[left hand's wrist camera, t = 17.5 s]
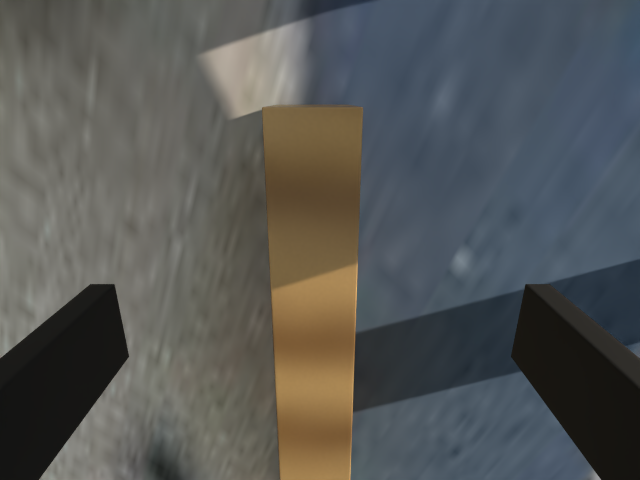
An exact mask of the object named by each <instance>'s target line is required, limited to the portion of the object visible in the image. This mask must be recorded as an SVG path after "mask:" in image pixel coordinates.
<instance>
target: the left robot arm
mask: <svg viewBox="0 0 640 480" xmlns="http://www.w3.org/2000/svg"><path fill="white" fill-rule="evenodd" d="M128 357H129V354H128V349H127V344H126V339H125V334H124V329H123V324H122V319H121V314H120V309H119V304H118V300H117V295H116V290H115V285H114V284H90V285H89V286H88V287H87V288H85V289H84V290H83V291H82V292H80V293H79V294H78V295H77V296H76V297H74V298H73V299H72V300H71V301H70V302H68V303H67V304H66V305H65V306H63V307H62V308H61V309H60V310H59V311H57V312H56V313H55V314H54V315H53V316H51V317H50V318H49V319H48V320H46V321H45V322H44V323H43V324H42V325H40V326H39V327H38V328H37V329H35V330H34V331H33V332H32V333H31V334H29V335H28V336H27V337H26V338H25V339H23V340H22V341H21V342H20V343H18V344H17V345H16V346H15V347H14V348H12V349H11V350H10V351H9V352H8V353H6V354H5V355H4V356H3V357H1V358H0V480H39V479H40V477H41V476H42V475H43V473H44V472H45V471H46V469H47V468H48V466H49V465H50V464H51V462H52V461H53V460H54V458H55V457H56V455H57V454H58V453H59V451H60V450H61V449H62V447H63V446H64V445H65V443H66V442H67V440H68V439H69V438H70V436H71V435H72V434H73V432H74V431H75V430H76V428H77V427H78V425H79V424H80V423H81V421H82V420H83V419H84V417H85V416H86V414H87V413H88V412H89V410H90V409H91V408H92V406H93V405H94V404H95V402H96V401H97V399H98V398H99V397H100V395H101V394H102V393H103V391H104V390H105V389H106V387H107V386H108V384H109V383H110V382H111V380H112V379H113V378H114V376H115V375H116V374H117V372H118V371H119V369H120V368H121V367H122V365H123V364H124V363H125V361H126V360H127V358H128ZM511 357H512V358H513V360H514V361H515V363H516V364H517V365H518V367H519V368H520V369H521V371H522V372H523V374H524V375H525V376H526V378H527V379H528V380H529V382H530V383H531V384H532V386H533V387H534V389H535V390H536V391H537V393H538V394H539V395H540V397H541V398H542V399H543V401H544V402H545V404H546V405H547V406H548V408H549V409H550V410H551V412H552V413H553V414H554V416H555V417H556V419H557V420H558V421H559V423H560V424H561V425H562V427H563V428H564V430H565V431H566V432H567V434H568V435H569V436H570V438H571V439H572V440H573V442H574V443H575V445H576V446H577V447H578V449H579V450H580V451H581V453H582V454H583V455H584V457H585V458H586V460H587V461H588V462H589V464H590V465H591V466H592V468H593V469H594V471H595V472H596V473H597V475H598V476H599V477H600V479H601V480H640V358H639V357H637V356H636V355H635V354H634V353H632V352H631V351H630V350H629V349H628V348H626V347H625V346H624V345H623V344H622V343H620V342H619V341H618V340H617V339H615V338H614V337H613V336H612V335H611V334H609V333H608V332H607V331H606V330H605V329H603V328H602V327H601V326H600V325H598V324H597V323H596V322H595V321H594V320H592V319H591V318H590V317H589V316H587V315H586V314H585V313H584V312H583V311H581V310H580V309H579V308H578V307H577V306H575V305H574V304H573V303H572V302H570V301H569V300H568V299H567V298H566V297H564V296H563V295H562V294H561V293H560V292H558V291H557V290H556V289H555V288H553V287H552V286H551V285H550V284H526V285H525V290H524V295H523V300H522V305H521V309H520V314H519V319H518V324H517V329H516V334H515V339H514V344H513V349H512V354H511Z"/></svg>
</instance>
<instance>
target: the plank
mask: <svg viewBox="0 0 640 480" xmlns="http://www.w3.org/2000/svg"><path fill="white" fill-rule="evenodd" d="M262 119H263V139H264V160H265V181H266V202H267V223H268V243H269V264H270V285H271V306H272V327H273V347H274V368H275V389H276V410H277V431H278V451H279V472H280V480H350V469H351V440H352V411H353V382H354V353H355V324H356V295H357V267H358V238H359V209H360V180H361V151H362V122H363V108H362V107H358V106H352V105H273V106H267V107H263V108H262Z"/></svg>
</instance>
